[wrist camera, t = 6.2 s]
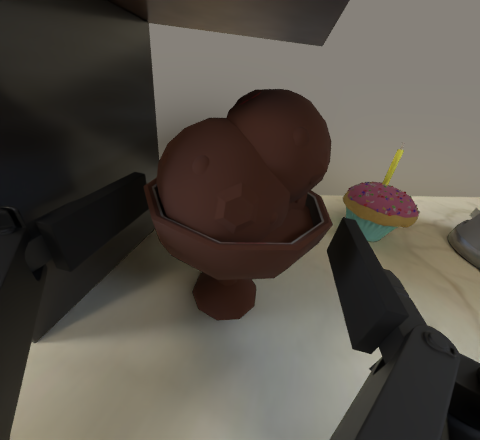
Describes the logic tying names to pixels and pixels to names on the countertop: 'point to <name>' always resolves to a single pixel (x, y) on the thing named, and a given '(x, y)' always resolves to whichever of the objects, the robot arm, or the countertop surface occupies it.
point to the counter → (103, 105)
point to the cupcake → (380, 205)
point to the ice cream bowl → (243, 196)
